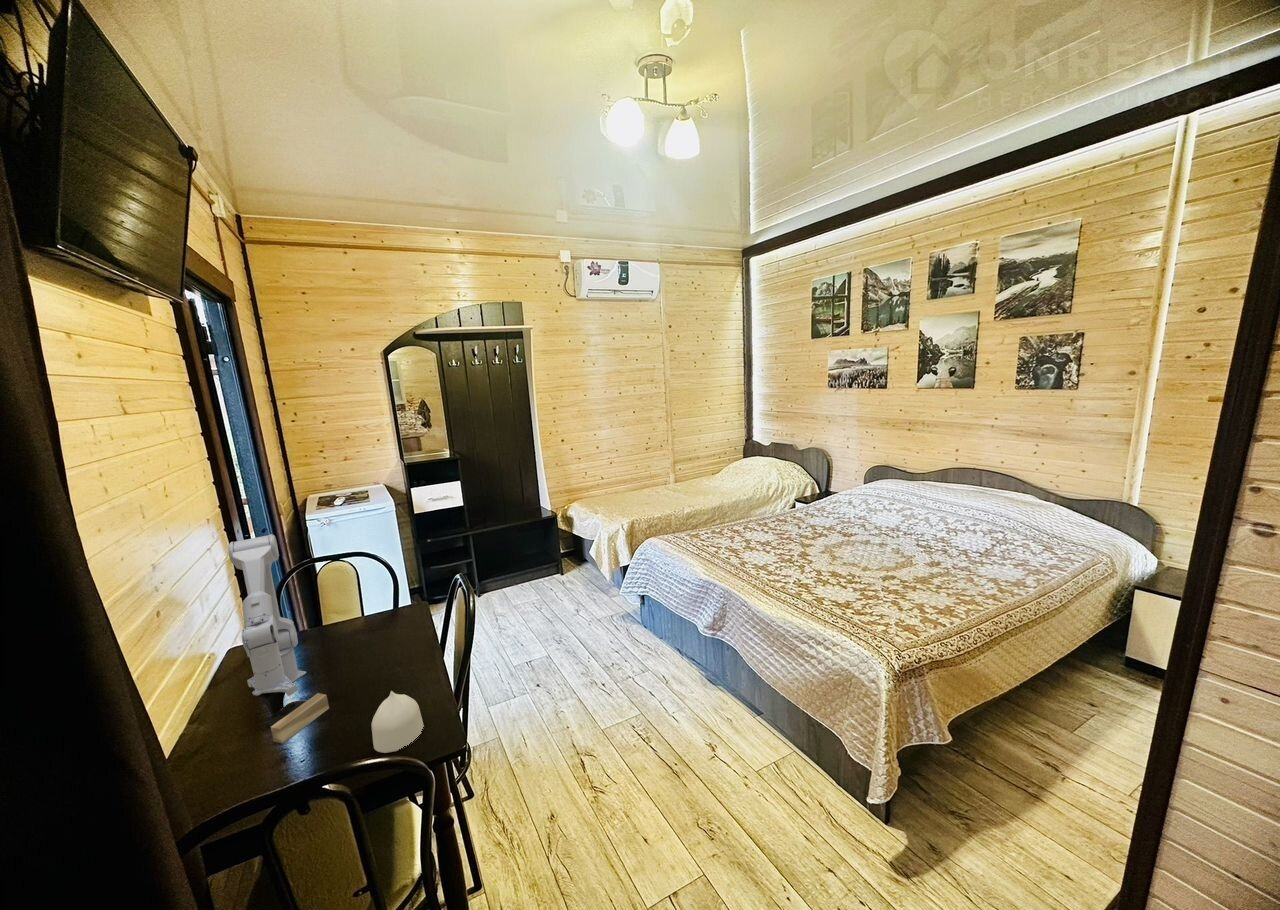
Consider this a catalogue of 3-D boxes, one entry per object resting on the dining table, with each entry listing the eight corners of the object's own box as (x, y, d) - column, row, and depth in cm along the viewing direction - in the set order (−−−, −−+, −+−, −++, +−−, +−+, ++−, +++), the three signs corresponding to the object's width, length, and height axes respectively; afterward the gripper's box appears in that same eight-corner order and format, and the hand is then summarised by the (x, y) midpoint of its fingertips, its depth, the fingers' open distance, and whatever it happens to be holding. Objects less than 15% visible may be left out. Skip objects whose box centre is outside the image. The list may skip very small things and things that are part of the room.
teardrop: (376, 726, 113) (368, 683, 111) (425, 711, 117) (418, 670, 115) (369, 760, 103) (360, 713, 101) (422, 742, 107) (415, 697, 105)
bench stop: (273, 741, 110) (270, 727, 109) (320, 706, 121) (317, 693, 121) (282, 743, 109) (279, 729, 108) (329, 708, 120) (326, 694, 120)
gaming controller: (282, 733, 111) (265, 715, 112) (273, 744, 113) (257, 726, 114) (318, 705, 121) (303, 688, 121) (310, 715, 122) (295, 699, 123)
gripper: (230, 672, 114) (241, 719, 116) (271, 681, 109) (282, 730, 112) (260, 655, 120) (270, 700, 123) (300, 663, 116) (310, 709, 119)
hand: (278, 713), depth 118 cm, fingers closed, pressing on gaming controller
